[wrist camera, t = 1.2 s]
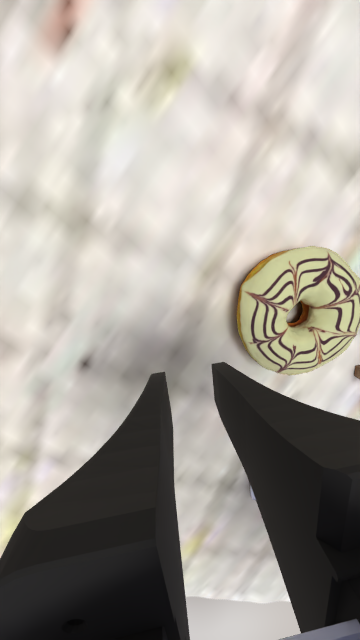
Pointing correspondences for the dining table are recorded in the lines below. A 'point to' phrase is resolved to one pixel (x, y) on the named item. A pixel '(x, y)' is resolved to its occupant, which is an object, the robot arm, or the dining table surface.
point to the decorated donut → (316, 319)
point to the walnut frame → (357, 371)
